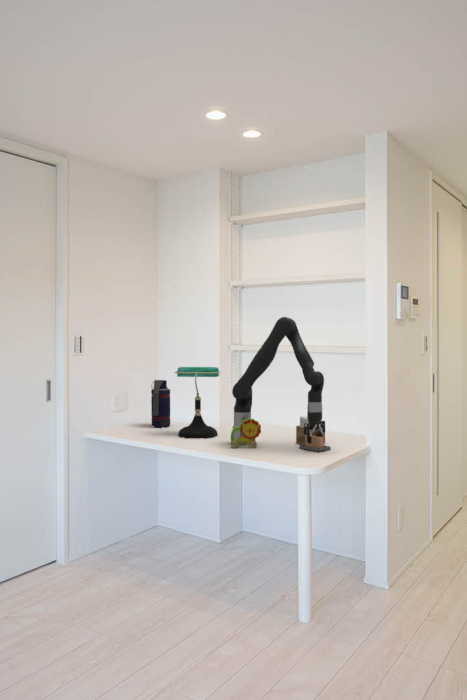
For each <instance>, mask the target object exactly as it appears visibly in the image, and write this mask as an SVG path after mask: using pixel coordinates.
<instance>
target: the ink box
mask: <svg viewBox="0 0 467 700" xmlns="http://www.w3.org/2000/svg"><path fill="white" fill-rule="evenodd" d="M304 423H309V420H308V419H307V416H299V426H300V425H304Z"/></svg>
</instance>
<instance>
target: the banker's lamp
mask: <svg viewBox="0 0 467 700" xmlns="http://www.w3.org/2000/svg"><path fill="white" fill-rule="evenodd" d="M174 374H176V377H179V378H180V377H181V378H182V377H183V378H194V384H195V389H196V396H195V397H194V412H195V413H194V416H193V419H192V420H191V423H190V424H189V425H188V426H184V427H182V428H181V429H179V431H178V434H177V435H179V436H180V437H179V436H178V437H179V438H182V437H185V438H184V439H188V438H205V439H211V438H216V437H217V436H218V430H217V429H216V428H214V427H213V426H211V425H207V423H205V421H204V419H203V417H202V413H201V411H202V408H201V407H202V406H201V401H202V398H201V397H200V393H199V389H198V385H197V378H217V377H220V374H221V371H219V367H216V366H179V367H178V368H177V371H175V372H174ZM215 436H216V437H215Z"/></svg>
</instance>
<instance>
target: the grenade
mask: <svg viewBox="0 0 467 700" xmlns="http://www.w3.org/2000/svg"><path fill="white" fill-rule="evenodd" d="M153 384H154V385H153ZM150 386H151V391H150V392H151V393H150V394H151V396H150V397H151V399H150V401H151V426H154V427H161V428H162V427H165V428H166V427H170V426H171V389H170V388H169V387H168V385H167V380H166V379H154V380H153V381H152V383H151V385H150Z"/></svg>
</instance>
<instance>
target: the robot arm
mask: <svg viewBox="0 0 467 700" xmlns="http://www.w3.org/2000/svg"><path fill="white" fill-rule="evenodd" d="M285 337H286V338H287V339H288V341H289V342H290V345H291V348H292V349H293V353H294V356H295V359H296V361H297V363H298V365H299V366H300V368H301V371H302V375H303V378H304V381H305V382H306V383H307V384H308V385H309V386H310V390H309V391H308V392H307V406H306V407H307V415H306V417H307V419H308V420H309V423H304V435H307V443H309V444H310V443H311V435H312V433H313V432H314V431H316V430H317V432H318V433H319V434H318V437H322V434H323V433H324V432H325V433H326V421H325V420H323V398H322V397H323V394H322V393H323V390H324V385H325V377H324V374H323V373H322V372H321V371H318V370H315V368H314V366H315V362H314V360H313V358H312V357H311V355H310V352H309V351H308V349H307V348H306V345H305V343H304V342H303V339H302V336H301V334H300V332H299V329H298V326H297V323H296V321H295V320H294V319H292V318H290V317H287V316H282V317H280V318H279V319H278V320H277V321H276V322H275V324H274V326H273V328H272V329H271V331H270V333H269V335H268V336H267V338H266V339H265V341H264V342H263V344H262V345H261V347H260V348H259V350H258V351H257V352H256V354H255V355H254V356H253V358H252V360H251V361H250V363H249V364H248V367H247V368H246V370H245V371H244V373H243V374H242V375H241V377H240V378H239V380H237V382H236V383H235V384H234V385H233V387H232V390H231V391H232V396H233V398H234V399H235V403H234V406H233V426H232V430H233V429H234V428H235V427H238V426H240V424H241V423H242V421H243V420H246V419H247V418H250V419H252V406H253V385H254V383H256V381H257V380H258V379H259V378H260V377H261V376H262V375H263V374H264V373H265V372H266V370H268V368H269V367H270V365H271V364H272V362H273V361H274V359H275V357H276V354H277V351H278V348H279V346H280V344H281V342H283V339H285ZM322 428H323V430H322ZM310 429H311V430H310ZM306 430H307V433H306ZM309 432H310V434H309ZM241 436H242V433H241V432H240V431H235V432H234V439H235V440H237V439H238V438H239V437H241ZM241 445H245V446H246V444H241ZM241 445H240V446H241Z"/></svg>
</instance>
